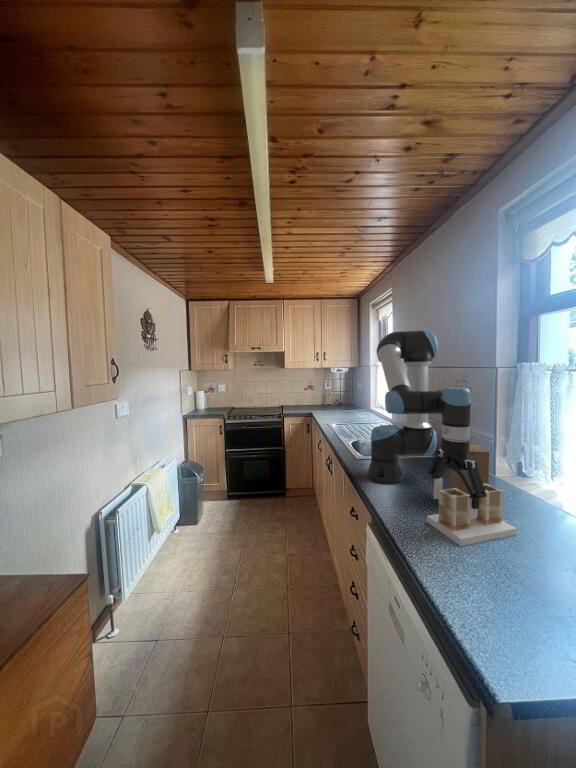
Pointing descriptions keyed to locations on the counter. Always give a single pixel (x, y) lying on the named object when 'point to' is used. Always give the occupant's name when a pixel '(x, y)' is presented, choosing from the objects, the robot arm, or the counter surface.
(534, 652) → the counter surface
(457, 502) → the sleeve
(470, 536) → the pin board
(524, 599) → the counter surface
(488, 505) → the sleeve seated
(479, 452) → the wooden block
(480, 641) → the counter surface
